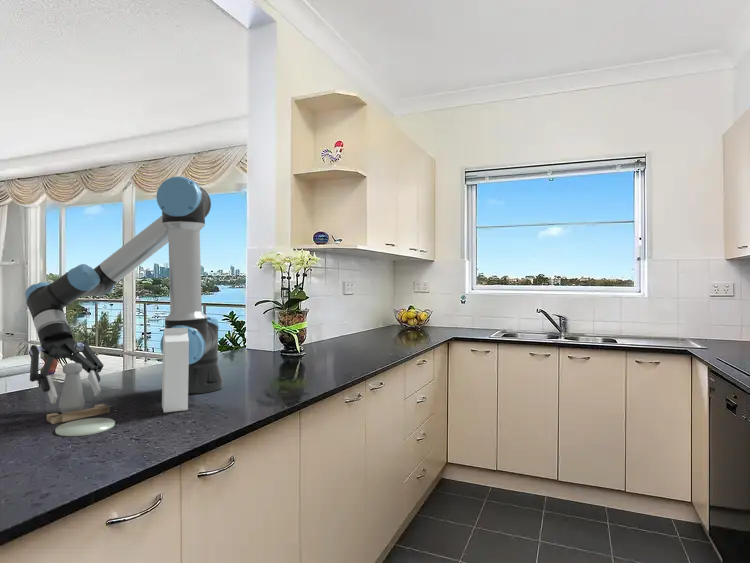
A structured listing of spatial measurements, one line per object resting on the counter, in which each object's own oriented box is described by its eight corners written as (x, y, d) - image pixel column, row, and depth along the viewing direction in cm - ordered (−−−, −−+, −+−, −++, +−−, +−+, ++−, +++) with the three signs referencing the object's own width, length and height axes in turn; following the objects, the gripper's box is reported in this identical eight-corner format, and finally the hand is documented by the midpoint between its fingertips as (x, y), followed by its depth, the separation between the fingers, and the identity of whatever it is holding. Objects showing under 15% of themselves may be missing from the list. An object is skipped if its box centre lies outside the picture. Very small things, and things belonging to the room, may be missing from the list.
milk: (187, 410, 128) (189, 329, 127) (163, 413, 125) (165, 330, 124) (184, 404, 133) (186, 326, 132) (161, 406, 130) (163, 326, 129)
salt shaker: (56, 417, 119) (57, 366, 119) (59, 411, 124) (60, 362, 124) (83, 414, 122) (84, 364, 122) (85, 409, 127) (86, 361, 127)
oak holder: (46, 420, 116) (46, 414, 116) (102, 409, 127) (102, 404, 127) (53, 424, 114) (53, 417, 114) (109, 412, 124) (109, 406, 124)
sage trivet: (122, 419, 118) (122, 417, 118) (102, 435, 106) (102, 432, 106) (70, 420, 117) (70, 418, 117) (44, 437, 105) (44, 434, 105)
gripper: (92, 335, 141) (116, 397, 132) (1, 342, 123) (21, 414, 114) (100, 318, 138) (126, 380, 128) (8, 323, 120) (30, 396, 111)
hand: (77, 396), depth 121 cm, fingers open, 9 cm apart
